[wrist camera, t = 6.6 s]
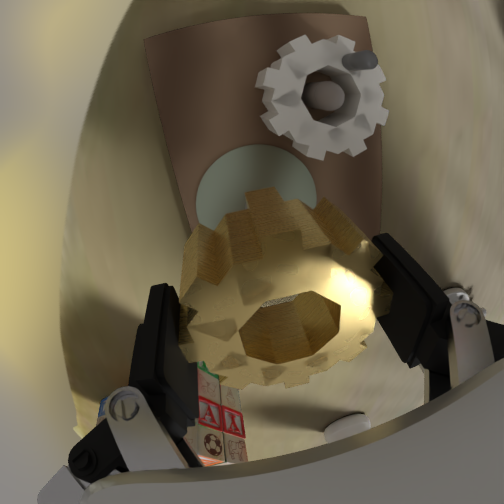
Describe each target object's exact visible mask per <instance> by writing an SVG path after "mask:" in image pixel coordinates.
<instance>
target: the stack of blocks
mask: <svg viewBox="0 0 504 504" xmlns="http://www.w3.org/2000/svg"><path fill="white" fill-rule="evenodd" d="M197 370H198V396H199V418H196V419H195V426H192V427H187V434H186V435H185V438H186V439H187V441H188V442H189V444H190V445H191V447H192V448H193V450H194V451H195V452H196V454H197V455H198V457H199V458H200V459H201V461H202V462H203V463H204V465H205V466H206V467H210V466H219V465H228V464H236V463H243V462H248V458H247V452H246V445H245V440H244V439H245V438H246V436H245V430H244V421H243V415H242V413H241V405H240V398H239V391H238V390H239V389H236V388H232V387H228V386H224V385H220V382H219V375H218V374H215V373H211V372H210V371H209V369H208V368H207V366H206V364H205V362H204V361H199V362H197ZM108 397H109V396H108ZM108 397H106V398H105V399H103V400H101V403H100V408H99V413H98V418H97V424H96V426H97V425H98V424H99V423H100V422H101V421H103V420H104V419H105V418H106V415H105V410H104V409H105V403H106V401H107V398H108Z"/></svg>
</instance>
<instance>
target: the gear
mask: <svg viewBox="0 0 504 504" xmlns="http://www.w3.org/2000/svg"><path fill="white" fill-rule="evenodd" d="M354 46H355V41H352V40H350V39H348V38H345V37H343V36H341V35H337V36H334V37H332V38H329V39H327V40H325V39H322V40H320V41H317V42H315V43H313V44H311V42H310V41H309V39H308V37H307V36H306V34H305V35H303V36H301V37H299V38H296V39H294V40H292V41H290V42H288V43H287V44H285V45H284V46H282V47H281V48H279V49H278V50H277V52H278V54H279V55H280V56H281V58H280V59H279V60H277V61H275V62H273V63H272V64H271V67H270V68H268V67H267V68H265V69H264V70H262V71H260V72H259V73H258V76H257V80H256V84H255V88H259V89H264V94H263V98H262V102H263V104H264V105H265V107H266V108H267V110H268V112H266V113H264V114H263V115H261V116H260V117H261V119H262V120H263V122H264V123H265V125H266V126H267V128H268V129H269V130H270V131H272V132H273V133H275V134H276V135H278V136H280V135H282V134H283V135H285V136H286V137H288V138H290V139H291V140H293V144H292V147H294V148H295V149H297V150H298V151H300V152H301V153H302V154H304V155H305V156H307V157H311V158H315V159H319V160H322V161H323V160H324V157H325V153H326V151H330V152H333V153H337V154H339V153H341V152H345V153H347V154H349V155H351V156H353V157H354V156H356V155H357V154H359V153H361V152H363V151H364V150H366V149H367V147H366V145H365V143H364V141H363V140H364V139H366V138H367V137H369V136H371V135H373V133H374V130H375V127H376V124H380V125H383V126H385V124H386V120H387V117H388V113H389V110H387V109H385V108H383V107H381V105H382V101H383V98H384V94H383V91H382V89H381V87H380V85H379V83H381V82H383V81H385V80H386V78H385V76H384V74H383V72H382V70H381V68H380V66H379V64H378V59H377V57H376V55H375V54H374V53H373V52H372V51H370V50H364V51H359V52H355V51H353V50H354ZM377 64H378V65H377ZM314 71H317V72H320V73H322V74H325V75H328V76H330V78H331V80H332V82H334V83H336V84H338V85H339V86H340V87H341V88H342V89H343V91H344V95H345V99H344V103H343V104H342V106H341V107H340V108H338V109H336V110H335V111H334V113H332V114H330V115H328V116H326V117H324V118H322V119H321V120H319V121H315V120H313V119H312V117H311V115H310V113H309V112H308V110H307V108H306V106H305V105H304V103H303V101H302V100H301V96H302V92H303V88H304V85H305V81H306V77H307V75H308V74H310V73H312V72H314Z"/></svg>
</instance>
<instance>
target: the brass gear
mask: <svg viewBox="0 0 504 504" xmlns="http://www.w3.org/2000/svg"><path fill="white" fill-rule="evenodd" d="M244 193H245V198H246V204H247V209H245V210H240V211H236V212H231V213H227V214H225V215H224V217H223V218H222V220H221V221H220V223H219V224H218V226H217V227H216V228H215V230H212V229H210V228H208V227H206V226H204V225H202V224H200V223H198V225H197V226H196V228H195V229H194V231H193V233H192V234H191V236H190V237H189V239H188V240H187V242H186V244H185V247H184V256H183V265H182V275H181V285H180V297H179V303H180V304H181V307H180V324H179V344H178V345H179V347H180V349H181V351H182V352H183V354H184V356H185V357H186V359H187V361H188V362H189V363H193V362H199V361H204V362H205V364H206V366H207V368H208V369H209V371H210V372H211V373H215V374H218V375H219V382H220V385H224V386H228V387H232V388H236V389H241V390H242V389H243V388H245V387H246V386H247V385H248V384H250V383H254V384H259V385H263V386H269V385H273V384H278V383H282V382H284V384H285V388H290V387H294V386H298V385H302V384H306V383H309V375H313V374H317V373H320V372H324V371H327V370H328V369H330V368H331V367H332V366H333V365H335V364H336V363H337V362H338V361H339V360H343V361H346V362H350V361H351V360H353V359H354V358H355V357H356V356H357V355H359V354H360V353H361V352H362V351H363V350H365V349H366V348H367V346H366V344H365V342H364V339H365V338H366V337H367V336H368V335H369V334H371V333H372V332H373V329H374V325H375V320H376V318H377V317H380V316H383V315H386V314H389V310H390V306H391V301H392V297H393V292H392V290H391V289H390V288H389V286H388V285H387V284H386V282H385V281H384V280H383V279H382V277H381V276H380V275H379V273H378V272H377V271H376V270H375V268H374V267H373V266H374V265H375V264H376V263H377V262H378V261H379V260H380V259H381V257H382V256H383V254H382V253H381V252H380V251H379V249H378V248H377V247H376V246H375V245H374V244H373V243H372V242H371V241H370V239H369V238H368V237H367V236H366V235H365V234H364V233H363V232H362V231H361V230H360V229H359V228H358V227H357V225H356V224H355V223H354V222H353V221H352V220H351V219H350V218H349V217H348V216H347V215H346V214H345V213H344V212H343V211H342V210H341V209H339V208H338V207H337V206H336V205H334V204H333V203H332V202H330V201H329V200H328V199H327V198H325V197H323V198H322V199H321V201H320V202H319V203H318V204H317V205H316V207H315V208H314V209H312V208H311V207H309V206H308V205H306V204H305V203H303V202H302V201H301V200H299V199H293V200H288V201H284V200H283V199H282V197H281V196H280V194H279V193H278V191H277V190H276V188H275V187H269V188H264V189H259V190H254V191H249V192H244ZM299 293H300V294H299ZM295 294H299V295H298V296H297V297H296V298H295V299H294V300H293V301H289V302H285V303H281V304H277V305H273V306H268V307H264V308H262V307H260V306H261V305H262V304H263V303H264V302H265V301H270V300H274V299H278V298H282V297H287V296H291V295H295Z"/></svg>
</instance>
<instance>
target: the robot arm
mask: <svg viewBox="0 0 504 504" xmlns="http://www.w3.org/2000/svg"><path fill="white" fill-rule="evenodd" d="M371 242H372V243H373V244H374V245H375V246H376V247H377V248H378V249H379V251H380V252H381V253H382V254H383V256H382V257H381V259H380V260H379V261H378V262H377V263H376V264H375V265H374V266H373V267H374V268H375V270H376V271H377V272H378V273H379V275H380V276H381V277H382V279H383V280H384V281H385V282H386V284H387V285H388V286H389V288H390V289H391V290H392V292H393V297H392V301H391V306H390V310H389V314H386V315H383V316H380V317H377V320H378V321H379V323H380V325H381V326H382V328H383V330H384V331H385V333H386V335H387V336H388V338H389V340H390V341H391V343H392V345H393V346H394V348H395V350H396V352H397V353H398V355H399V357H400V359H401V360H402V362H404V363H407V364H408V366H409V368H413V367H415V366H417V365H419V366H420V368H421V370H422V372H423V373H424V405H422V406H420V407H418V408H416V409H414V410H412V411H410V412H408V413H406V414H404V415H402V416H400V417H397V418H395V419H393V420H391V421H388V422H386V423H384V424H381V425H379V426H376V427H374V428H371V429H369V430H366V431H363V432H361V433H358V434H355V435H352V436H350V437H347V438H344V439H341V440H338V441H335V442H331V443H328V444H325V445H321V446H318V447H314V448H311V449H307V450H303V451H299V452H295V453H291V454H286V455H282V456H277V457H272V458H267V459H262V460H256V461H250V462H243V463H236V464H228V465H219V466H210V467H206V466H205V465H204V463H203V462H202V461H201V459H200V458H199V457H198V455H197V454H196V452H195V451H194V450H193V448H192V447H191V445H190V444H189V442H188V441H187V439H186V438H185V435H186V434H187V427H192V426H195V419H196V418H199V396H198V370H197V362H193V363H189V362H188V361H187V359H186V357H185V356H184V354H183V352H182V351H181V349H180V347H179V345H178V344H179V324H180V307H181V304H180V303H179V298H178V296H177V293H176V291H175V289H174V287H173V286H168V284H167V283H163V284H158V285H154V286H151V289H150V294H149V299H148V304H147V309H146V314H145V319H144V324H140V325H139V326H138V329H137V334H136V340H135V345H134V351H133V357H132V363H131V370H130V377H129V384H128V386H126V387H121V388H118V389H116V390H115V391H114V392H112V393H111V394H110V396H109V397H108V398H107V401H106V403H105V409H104V410H105V415H106V418H105V419H104V420H103V421H101V422H100V423H99V424H98V425H97V426H96V427H95V428H94V429H93V430H92V431H90V432H89V433H88V434H87V435H86V436H85V437H84V438H83V439H82V440H80V442H78V443H77V444H76V445H75V446H74V447H73V448H72V450H71V451H70V454H69V458H68V463H69V465H68V466H65V465H63V467H62V468H61V469H60V470H59V471H58V472H57V473H56V474H55V475H54V476H53V477H52V479H51V480H50V481H49V482H48V483H47V484H46V485H45V486H44V487H43V488H42V490H41V491H40V492H39V494H38V499H37V501H38V504H504V325H502V324H498V323H495V322H491V321H488V320H486V319H485V317H484V316H485V315H486V310H485V308H480V307H479V306H478V305H476V304H475V303H473V302H471V301H470V299H469V296H468V294H467V293H466V292H465V291H464V290H463V289H461V288H451V289H447V290H445V291H442V289H441V288H440V287H439V286H438V285H437V284H436V283H435V282H434V280H433V279H432V278H431V277H430V276H429V275H428V274H427V273H426V272H425V271H424V269H423V268H422V267H421V266H420V265H419V264H418V263H417V262H416V261H415V260H414V259H413V258H412V257H411V256H410V255H409V254H408V253H407V252H406V251H405V250H404V249H403V248H402V247H401V246H400V245H399V244H398V243H397V242H396V241H395V240H394V239H393V238H392V237H391V236H390V235H389V234H388V233H384V234H380V235H375V236H373V238H372V240H371Z"/></svg>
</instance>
